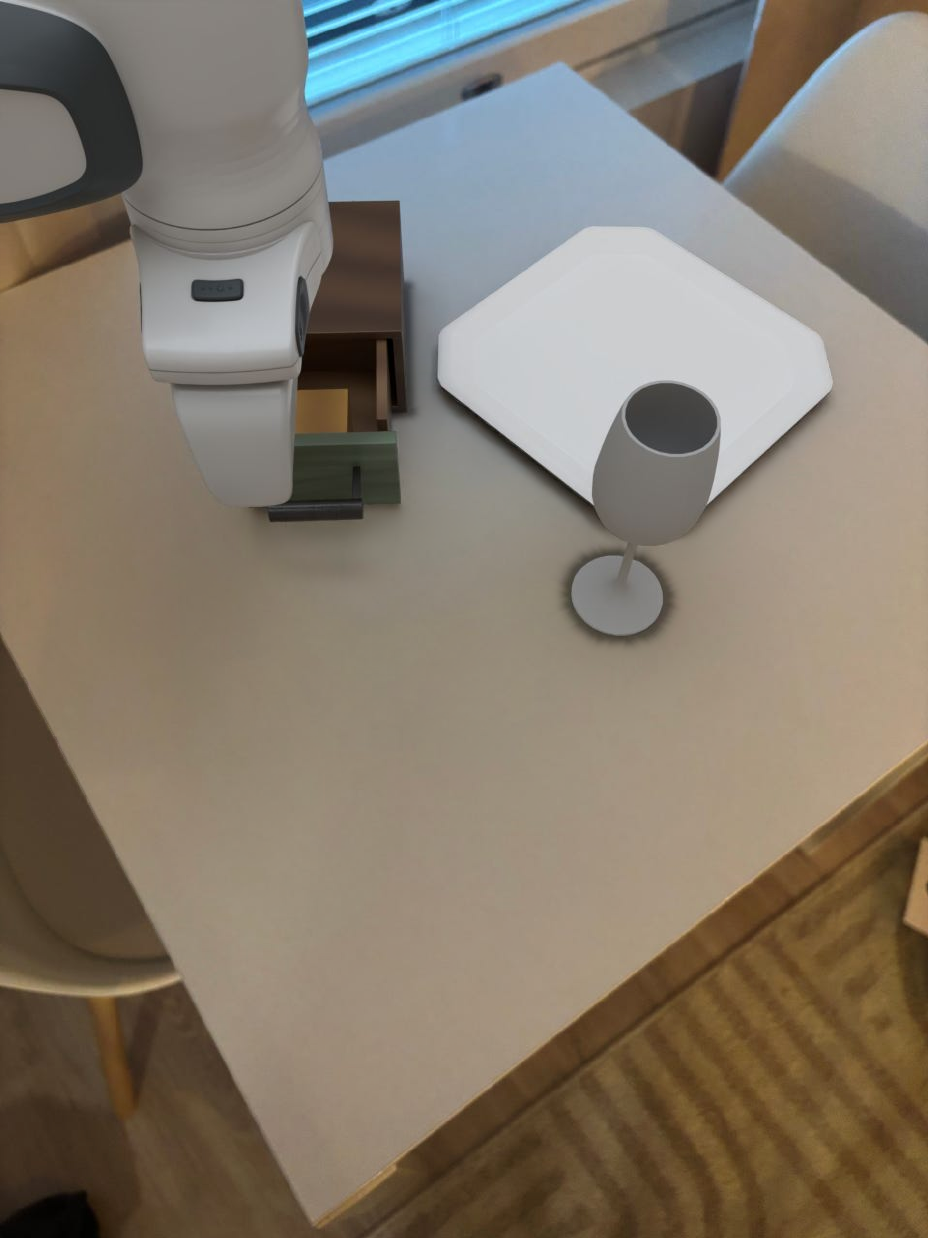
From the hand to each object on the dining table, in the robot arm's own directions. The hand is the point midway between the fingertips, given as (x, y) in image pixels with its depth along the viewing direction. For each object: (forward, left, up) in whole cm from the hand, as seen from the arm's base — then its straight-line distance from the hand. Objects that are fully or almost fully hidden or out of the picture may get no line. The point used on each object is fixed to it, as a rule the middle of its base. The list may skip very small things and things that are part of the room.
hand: (280, 420), depth 55 cm
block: (0, +14, -19) cm, 23 cm away
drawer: (0, +13, -20) cm, 24 cm away
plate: (+27, +23, -21) cm, 41 cm away
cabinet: (0, +27, -21) cm, 34 cm away
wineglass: (+23, 0, -21) cm, 31 cm away
